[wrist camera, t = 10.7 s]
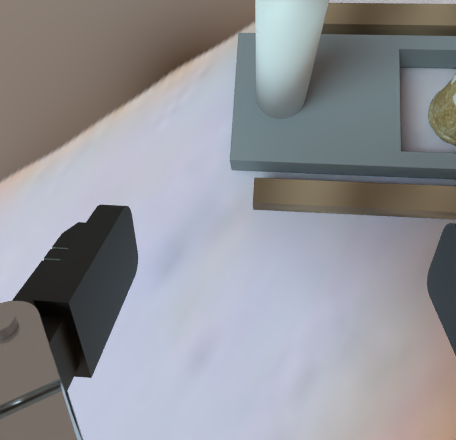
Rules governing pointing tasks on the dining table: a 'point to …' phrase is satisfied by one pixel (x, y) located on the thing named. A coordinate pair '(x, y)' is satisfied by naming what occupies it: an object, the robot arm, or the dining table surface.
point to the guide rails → (361, 191)
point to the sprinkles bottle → (444, 113)
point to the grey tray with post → (327, 97)
